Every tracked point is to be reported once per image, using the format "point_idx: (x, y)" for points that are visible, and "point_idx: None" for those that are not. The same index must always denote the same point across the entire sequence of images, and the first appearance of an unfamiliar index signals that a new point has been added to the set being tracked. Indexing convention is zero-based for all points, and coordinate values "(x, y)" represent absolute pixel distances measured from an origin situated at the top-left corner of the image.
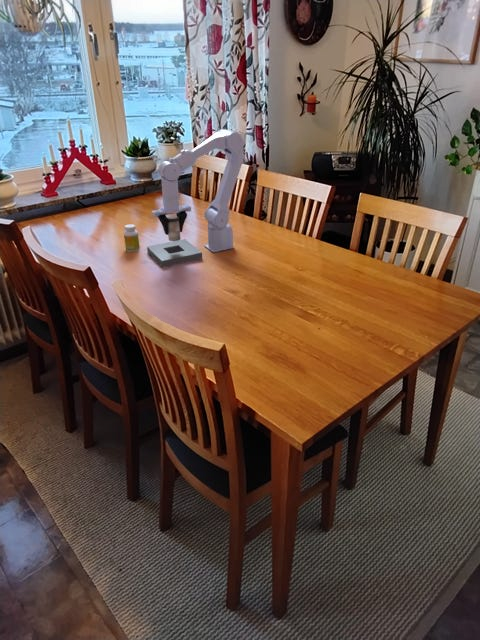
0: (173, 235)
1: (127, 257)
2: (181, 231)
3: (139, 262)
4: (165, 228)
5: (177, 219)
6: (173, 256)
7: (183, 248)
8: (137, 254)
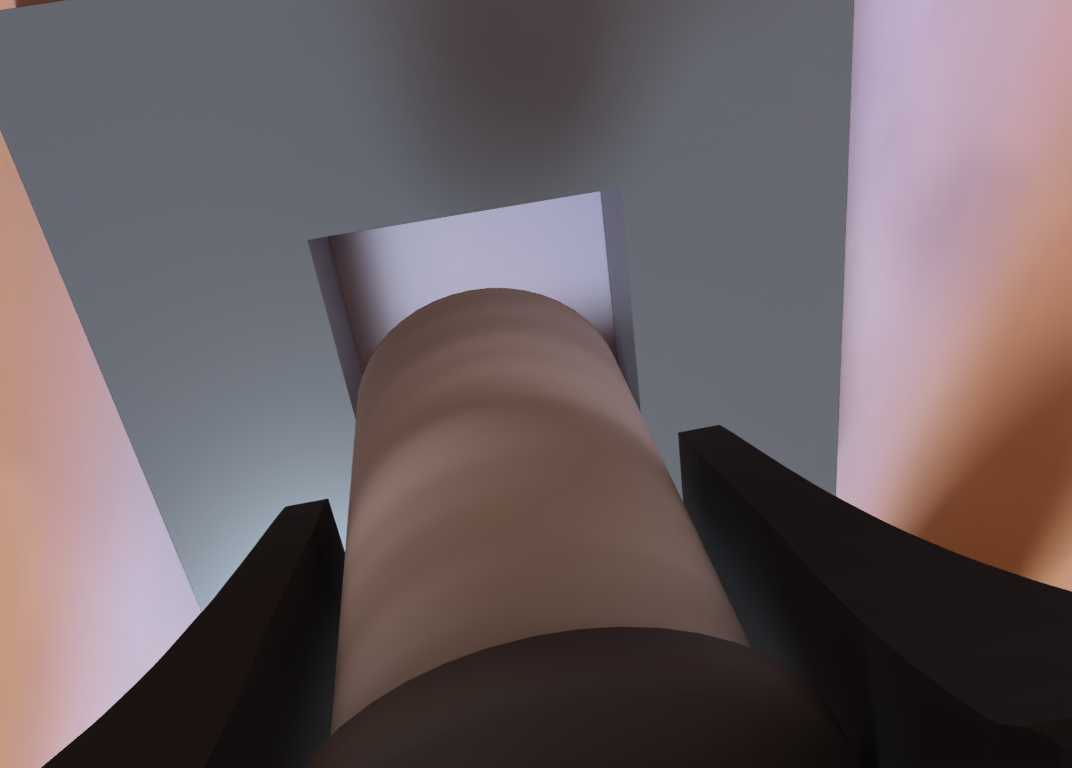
0: (561, 361)
1: (1068, 442)
2: (299, 511)
3: (1019, 234)
4: (841, 501)
5: (410, 740)
6: (584, 32)
7: (320, 346)
8: (926, 494)
